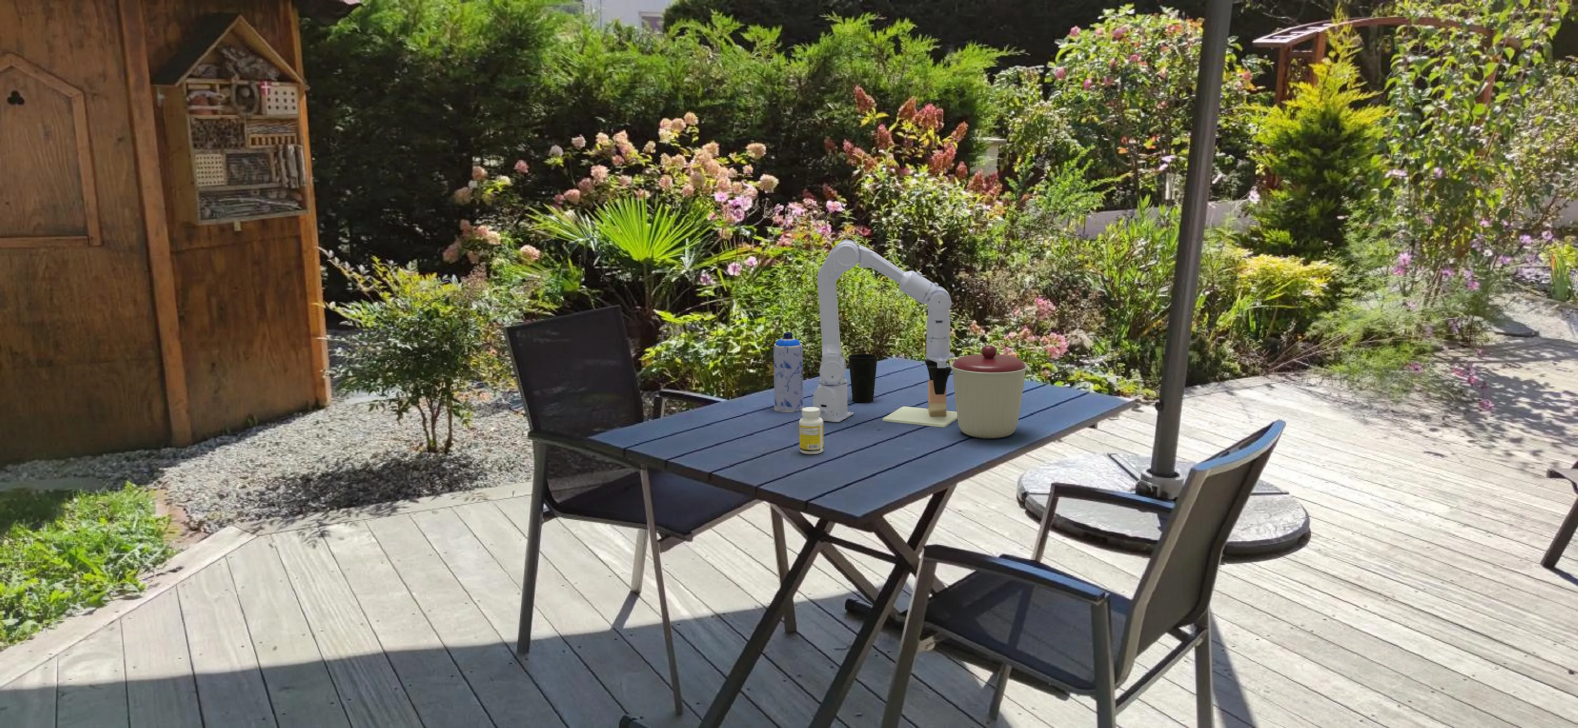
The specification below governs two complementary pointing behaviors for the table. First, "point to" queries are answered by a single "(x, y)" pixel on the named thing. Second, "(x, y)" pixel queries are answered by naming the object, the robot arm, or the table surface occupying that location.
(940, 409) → the beech brick
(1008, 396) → the canister
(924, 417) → the plate
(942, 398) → the terracotta brick
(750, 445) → the table surface
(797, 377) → the aerosol can
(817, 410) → the supplement bottle
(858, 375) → the cup
